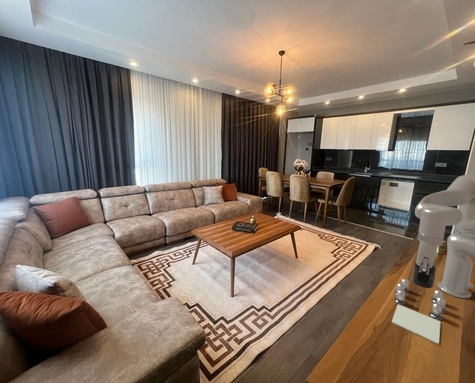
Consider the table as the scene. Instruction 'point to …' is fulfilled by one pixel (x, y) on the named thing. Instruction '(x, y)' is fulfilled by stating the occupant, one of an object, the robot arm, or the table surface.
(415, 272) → the supplement bottle
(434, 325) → the sage pad
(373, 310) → the table surface
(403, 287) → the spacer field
